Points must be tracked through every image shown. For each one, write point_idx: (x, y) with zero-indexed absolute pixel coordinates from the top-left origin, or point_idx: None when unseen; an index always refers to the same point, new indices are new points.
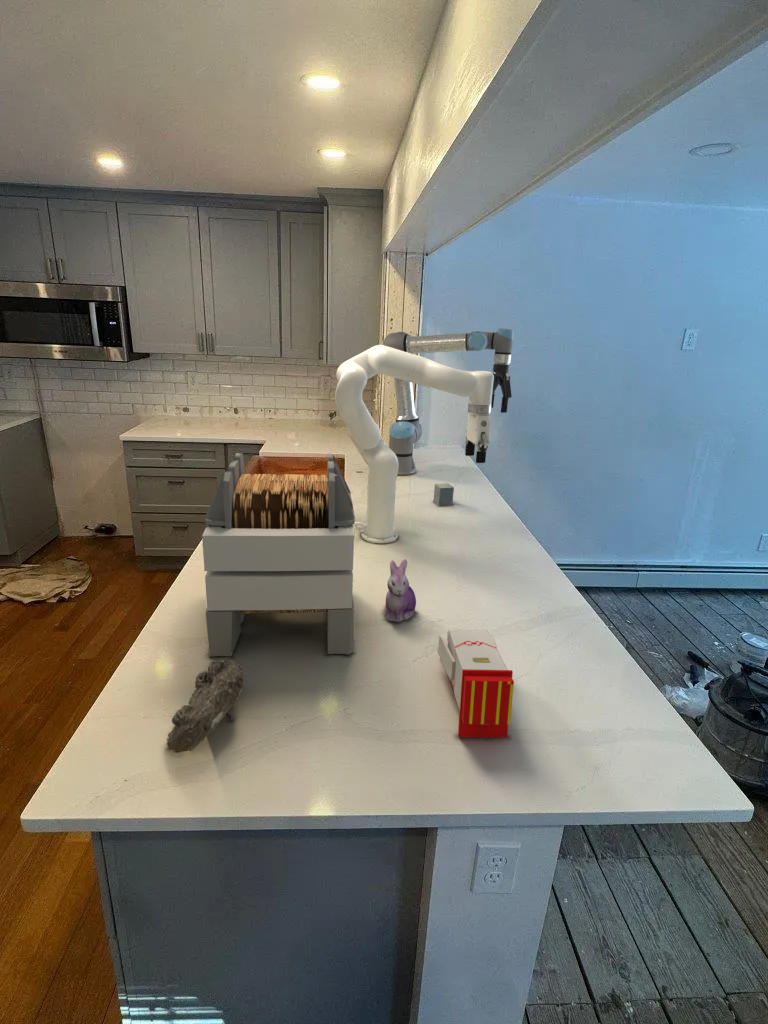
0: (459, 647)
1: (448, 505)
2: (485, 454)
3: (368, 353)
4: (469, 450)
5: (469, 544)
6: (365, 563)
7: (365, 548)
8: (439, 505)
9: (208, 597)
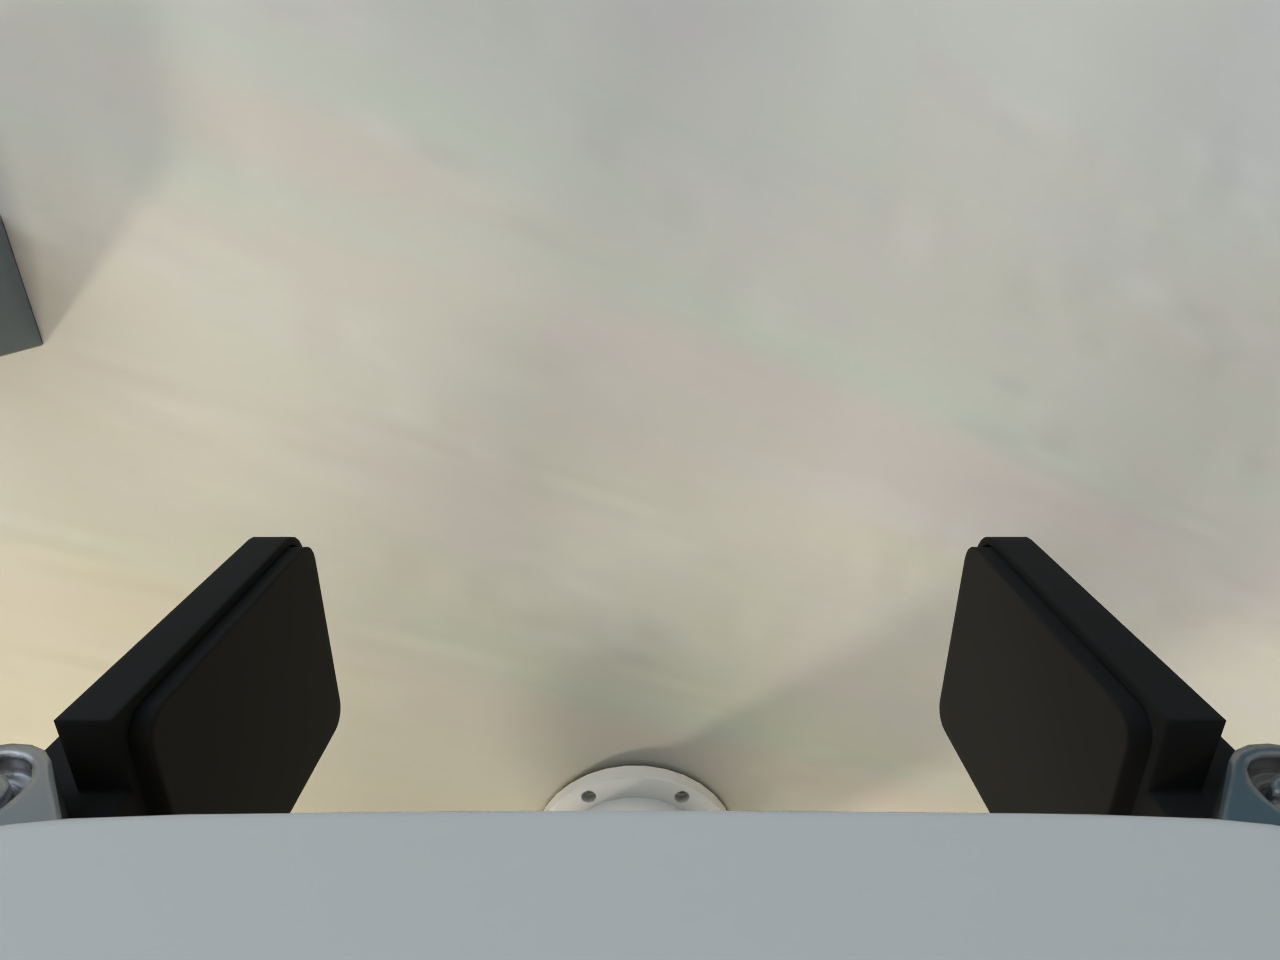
0: None
1: (9, 252)
2: (1146, 663)
3: None
4: (273, 741)
5: (849, 388)
6: None
7: None
8: (35, 339)
9: None
